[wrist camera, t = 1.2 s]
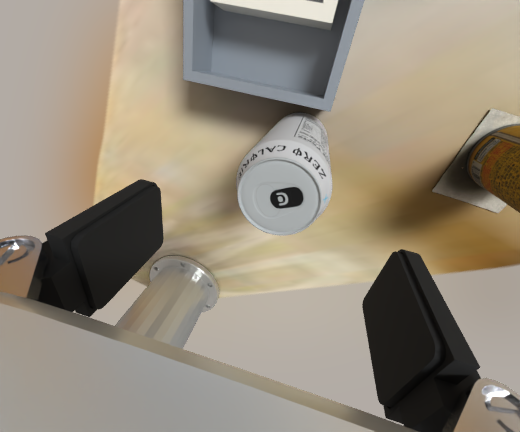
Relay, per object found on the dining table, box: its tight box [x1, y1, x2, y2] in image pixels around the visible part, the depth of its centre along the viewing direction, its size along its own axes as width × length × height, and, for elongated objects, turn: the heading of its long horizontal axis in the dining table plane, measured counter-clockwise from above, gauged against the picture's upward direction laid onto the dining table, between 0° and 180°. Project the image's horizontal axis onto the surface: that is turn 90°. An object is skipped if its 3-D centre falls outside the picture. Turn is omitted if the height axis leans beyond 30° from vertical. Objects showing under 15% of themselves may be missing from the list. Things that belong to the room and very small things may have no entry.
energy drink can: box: [236, 112, 332, 235], centre depth 20 cm, size 6×6×15 cm
